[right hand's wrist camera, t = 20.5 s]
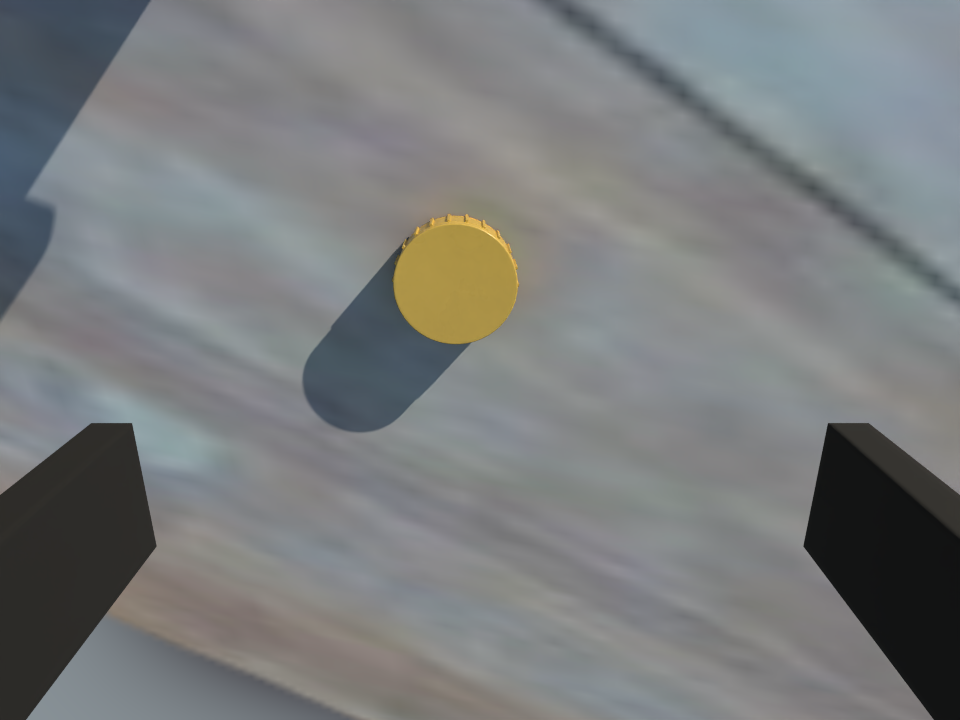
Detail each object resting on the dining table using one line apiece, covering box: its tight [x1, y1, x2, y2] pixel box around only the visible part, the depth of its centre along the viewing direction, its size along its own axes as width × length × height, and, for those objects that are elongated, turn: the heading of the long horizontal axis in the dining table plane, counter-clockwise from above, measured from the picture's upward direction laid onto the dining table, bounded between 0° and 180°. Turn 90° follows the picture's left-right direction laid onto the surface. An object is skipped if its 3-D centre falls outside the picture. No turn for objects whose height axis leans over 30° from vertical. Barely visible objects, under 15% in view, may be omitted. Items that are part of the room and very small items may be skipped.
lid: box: [392, 214, 519, 344], centre depth 25 cm, size 5×5×2 cm
